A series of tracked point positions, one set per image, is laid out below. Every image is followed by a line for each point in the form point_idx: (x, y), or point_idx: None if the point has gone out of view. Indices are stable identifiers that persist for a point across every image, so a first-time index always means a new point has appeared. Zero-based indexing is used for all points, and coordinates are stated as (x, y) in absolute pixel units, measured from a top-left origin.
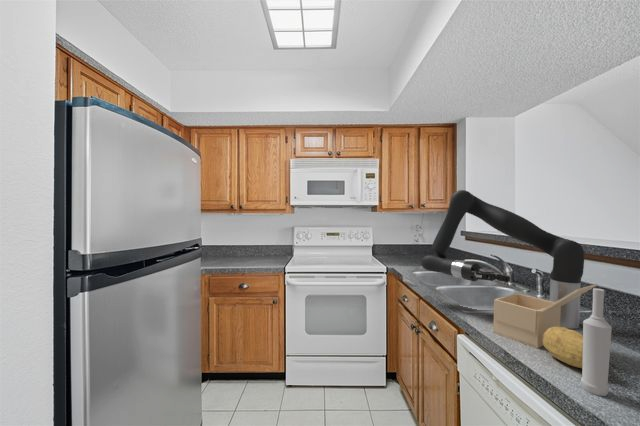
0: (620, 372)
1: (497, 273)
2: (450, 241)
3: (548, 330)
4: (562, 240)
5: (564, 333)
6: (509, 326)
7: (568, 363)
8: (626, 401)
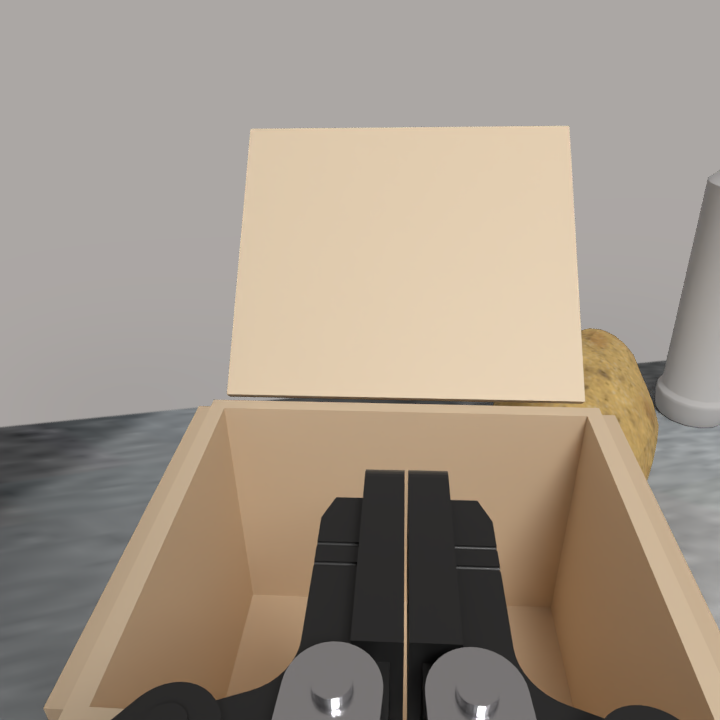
0: (450, 401)
1: (355, 704)
2: None
3: None
4: None
5: (621, 373)
6: None
7: None
8: (651, 370)
